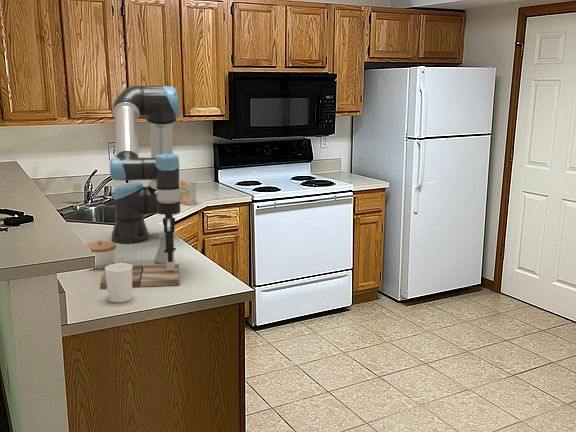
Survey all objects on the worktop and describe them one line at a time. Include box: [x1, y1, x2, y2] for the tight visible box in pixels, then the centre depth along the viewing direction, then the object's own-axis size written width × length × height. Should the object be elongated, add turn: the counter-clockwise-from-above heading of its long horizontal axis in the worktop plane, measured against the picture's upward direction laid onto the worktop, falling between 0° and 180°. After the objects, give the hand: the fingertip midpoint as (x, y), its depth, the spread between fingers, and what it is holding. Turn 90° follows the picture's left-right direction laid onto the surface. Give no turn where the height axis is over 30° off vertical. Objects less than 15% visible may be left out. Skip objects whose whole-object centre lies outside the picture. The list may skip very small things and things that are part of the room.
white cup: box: [104, 262, 133, 303], centre depth 175 cm, size 8×8×10 cm
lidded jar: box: [85, 240, 117, 270], centre depth 207 cm, size 11×11×9 cm
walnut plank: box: [99, 264, 144, 290], centre depth 194 cm, size 18×12×2 cm, turn 10°
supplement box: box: [179, 179, 197, 207], centre depth 321 cm, size 8×5×13 cm, turn 50°
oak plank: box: [140, 263, 180, 287], centre depth 196 cm, size 18×12×2 cm, turn 10°
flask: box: [153, 233, 176, 264], centre depth 213 cm, size 7×7×10 cm
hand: (170, 270), depth 197 cm, fingers closed
